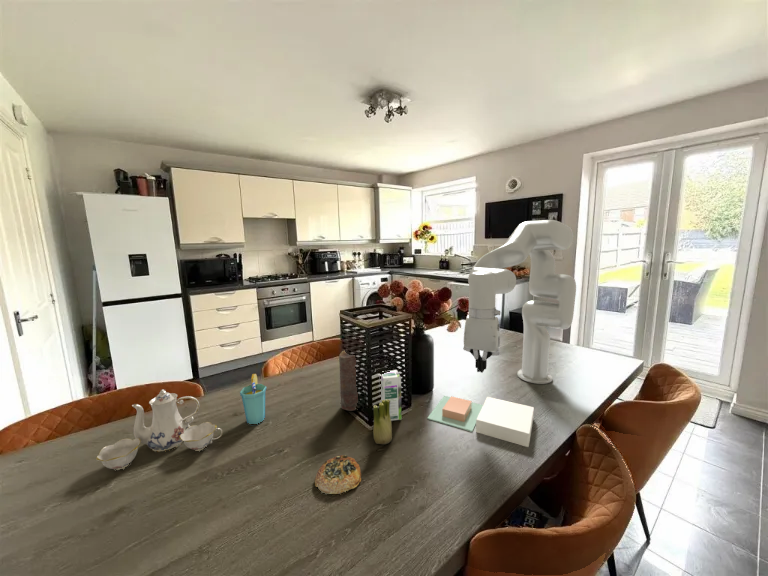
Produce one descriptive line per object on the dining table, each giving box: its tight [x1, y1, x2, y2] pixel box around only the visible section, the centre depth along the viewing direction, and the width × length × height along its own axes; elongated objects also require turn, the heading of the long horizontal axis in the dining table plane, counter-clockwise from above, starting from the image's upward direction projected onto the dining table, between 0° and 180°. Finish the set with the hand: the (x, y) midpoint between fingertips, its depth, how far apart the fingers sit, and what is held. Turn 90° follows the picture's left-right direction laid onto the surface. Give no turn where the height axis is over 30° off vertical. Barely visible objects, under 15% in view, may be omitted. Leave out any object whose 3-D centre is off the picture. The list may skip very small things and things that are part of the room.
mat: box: [426, 395, 484, 433], centre depth 100 cm, size 16×14×1 cm
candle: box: [338, 350, 358, 412], centre depth 102 cm, size 8×7×20 cm
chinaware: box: [95, 389, 223, 470], centre depth 83 cm, size 28×17×17 cm, turn 118°
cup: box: [239, 373, 267, 425], centre depth 95 cm, size 14×8×15 cm, turn 27°
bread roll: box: [314, 454, 362, 494], centre depth 72 cm, size 11×11×5 cm
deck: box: [475, 396, 535, 448], centre depth 92 cm, size 15×14×4 cm
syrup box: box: [380, 369, 403, 422], centre depth 97 cm, size 6×6×14 cm
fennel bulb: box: [372, 399, 393, 445], centre depth 85 cm, size 6×5×12 cm
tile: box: [442, 395, 473, 422], centre depth 99 cm, size 9×7×2 cm
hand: (480, 370), depth 94 cm, fingers closed
